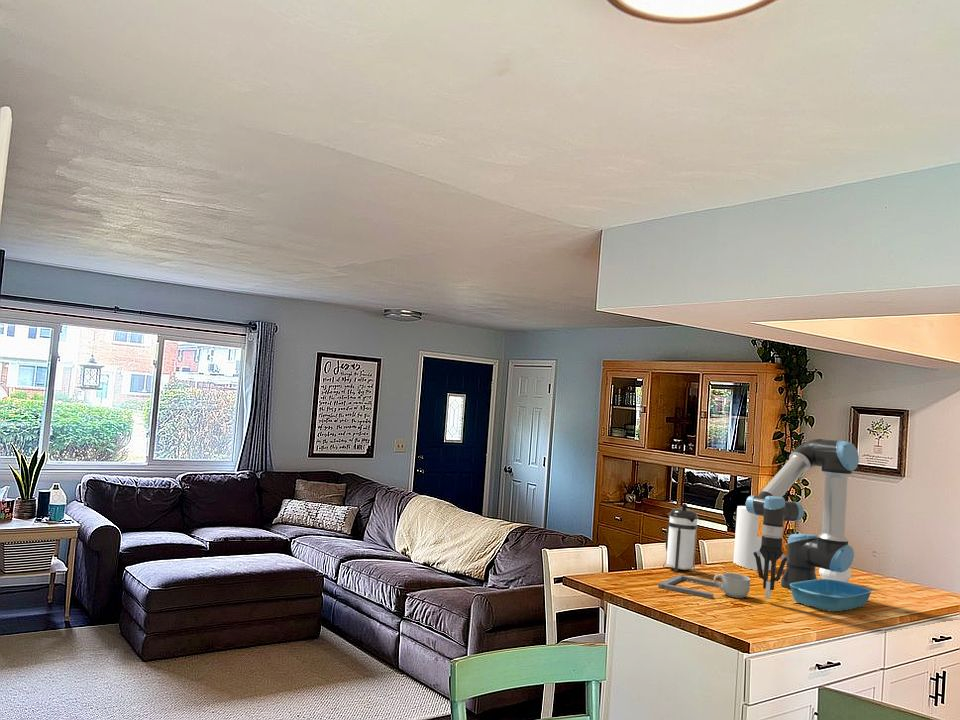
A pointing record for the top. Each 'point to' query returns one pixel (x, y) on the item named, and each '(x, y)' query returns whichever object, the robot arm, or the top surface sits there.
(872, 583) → the top surface
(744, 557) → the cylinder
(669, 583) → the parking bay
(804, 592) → the casserole dish
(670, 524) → the coffee press
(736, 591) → the teacup
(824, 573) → the cup
